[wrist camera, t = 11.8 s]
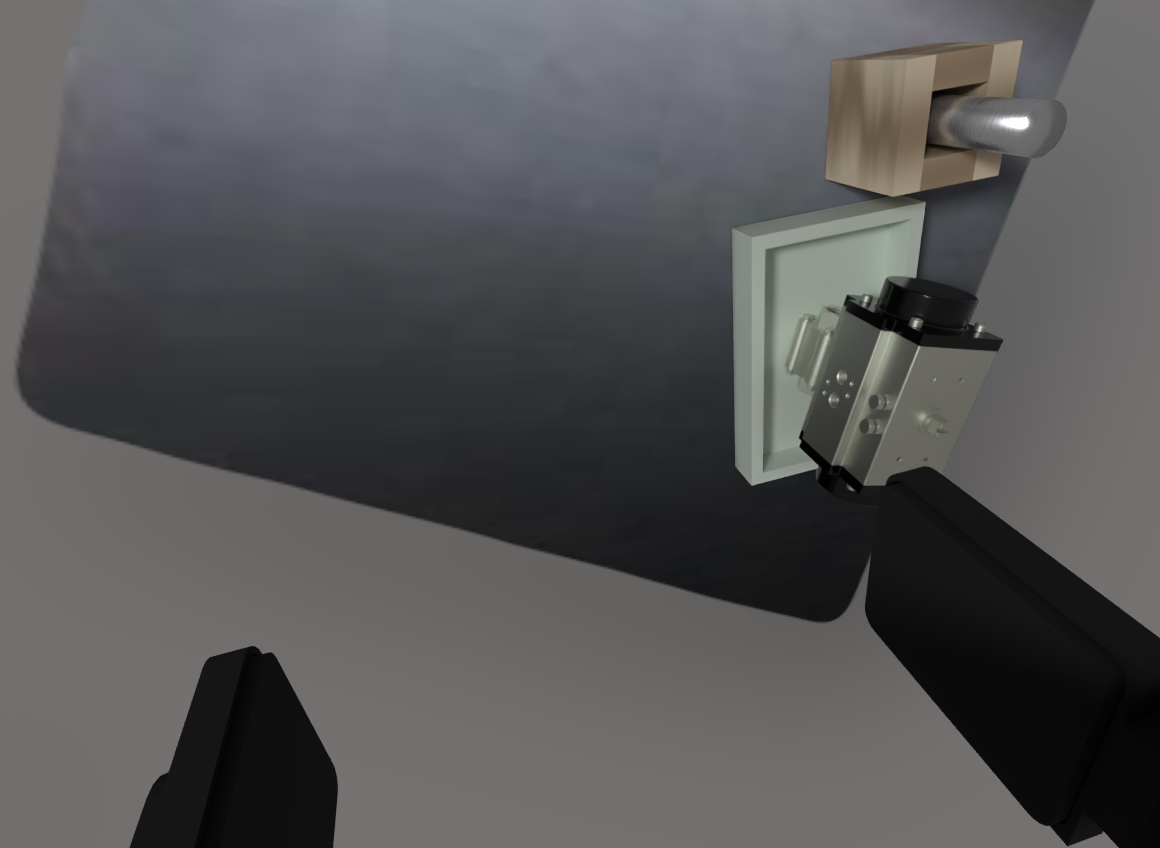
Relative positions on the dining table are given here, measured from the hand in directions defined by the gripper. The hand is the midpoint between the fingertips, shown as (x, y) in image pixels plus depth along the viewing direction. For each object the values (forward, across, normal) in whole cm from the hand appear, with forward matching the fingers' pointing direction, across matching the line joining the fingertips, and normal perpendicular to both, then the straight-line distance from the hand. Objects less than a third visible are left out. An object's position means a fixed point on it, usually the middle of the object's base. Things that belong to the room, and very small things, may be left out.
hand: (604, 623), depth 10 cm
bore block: (+28, -24, -2) cm, 37 cm away
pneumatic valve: (+28, -20, +11) cm, 36 cm away
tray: (+28, -20, +11) cm, 37 cm away
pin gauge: (+28, -24, -2) cm, 37 cm away
